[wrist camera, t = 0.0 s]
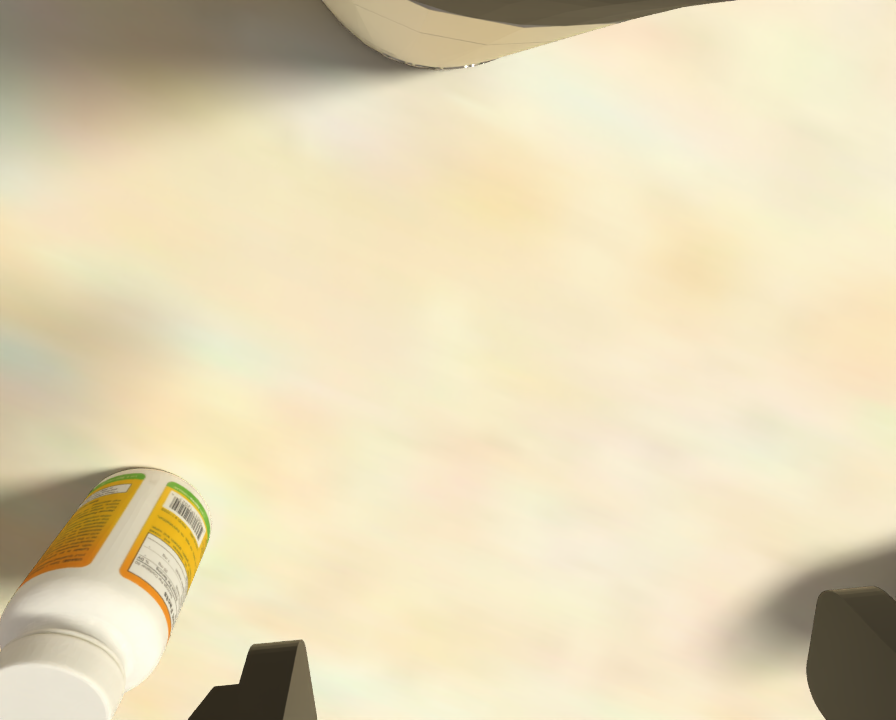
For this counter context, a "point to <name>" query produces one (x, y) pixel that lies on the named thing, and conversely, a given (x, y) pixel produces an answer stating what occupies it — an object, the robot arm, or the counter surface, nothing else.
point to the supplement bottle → (102, 599)
